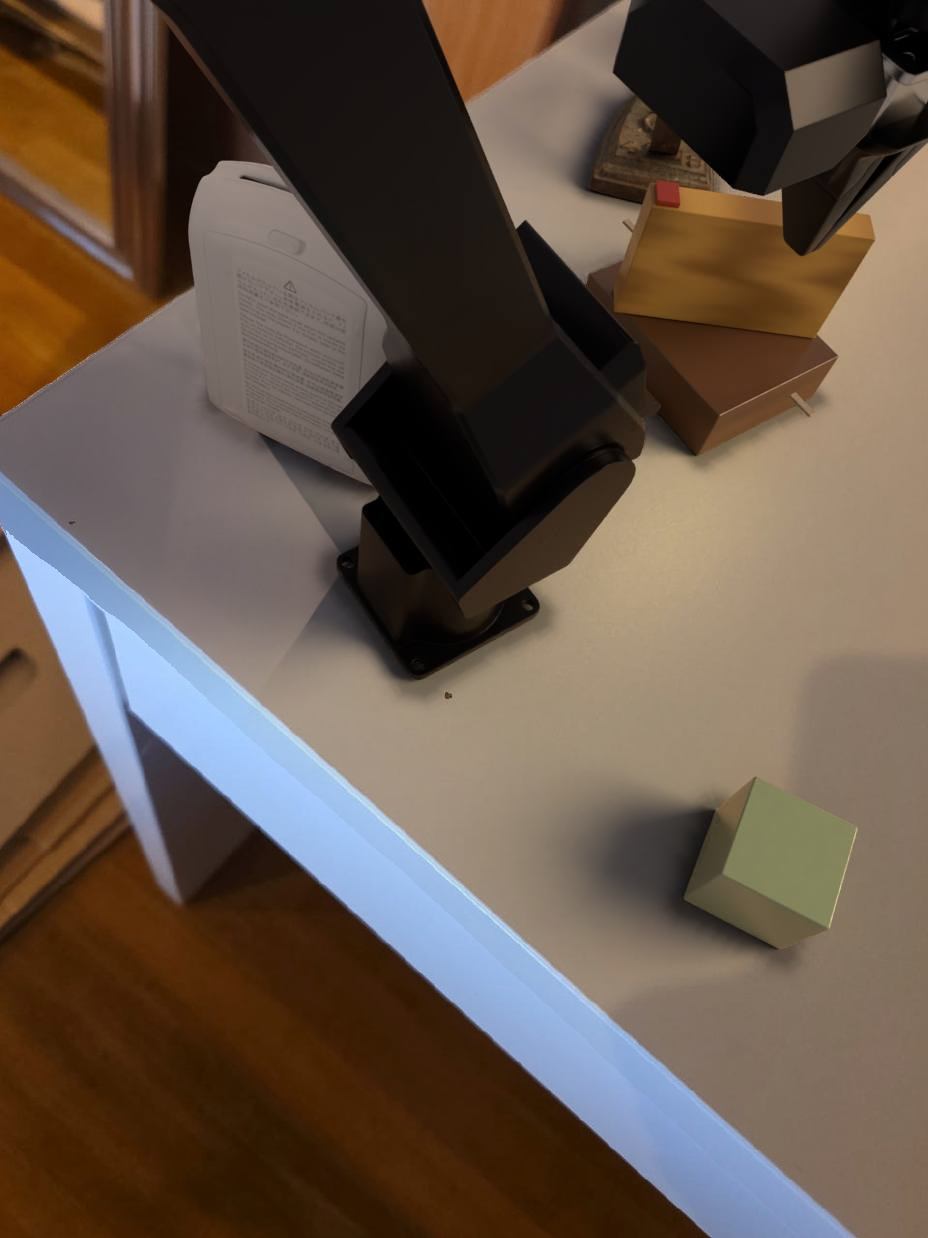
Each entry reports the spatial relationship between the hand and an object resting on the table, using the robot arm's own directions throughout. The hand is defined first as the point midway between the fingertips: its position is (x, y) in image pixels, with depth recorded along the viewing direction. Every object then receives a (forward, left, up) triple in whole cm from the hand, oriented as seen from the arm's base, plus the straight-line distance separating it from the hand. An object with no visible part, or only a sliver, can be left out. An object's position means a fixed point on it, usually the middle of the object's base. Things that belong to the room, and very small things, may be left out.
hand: (799, 246), depth 35 cm
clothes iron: (+14, +19, -13) cm, 27 cm away
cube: (-11, -16, -13) cm, 24 cm away
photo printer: (-14, +10, -13) cm, 22 cm away
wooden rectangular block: (+5, +5, -10) cm, 12 cm away
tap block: (+5, +5, -13) cm, 15 cm away
